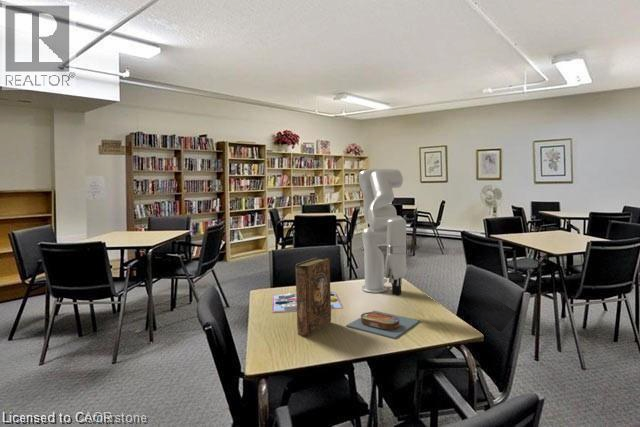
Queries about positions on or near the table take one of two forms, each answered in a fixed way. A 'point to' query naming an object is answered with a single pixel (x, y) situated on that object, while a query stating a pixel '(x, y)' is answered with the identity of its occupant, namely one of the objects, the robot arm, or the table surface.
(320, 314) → the book
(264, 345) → the table surface
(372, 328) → the mat
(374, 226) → the robot arm
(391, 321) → the tin
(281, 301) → the puzzle board
